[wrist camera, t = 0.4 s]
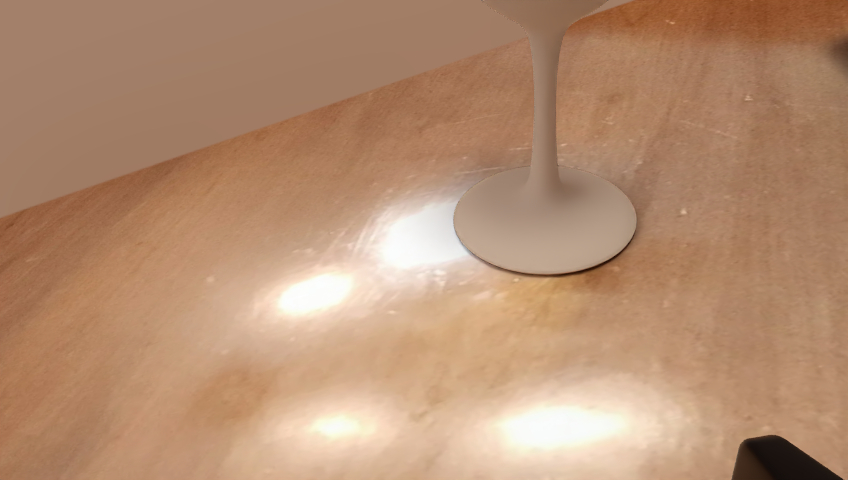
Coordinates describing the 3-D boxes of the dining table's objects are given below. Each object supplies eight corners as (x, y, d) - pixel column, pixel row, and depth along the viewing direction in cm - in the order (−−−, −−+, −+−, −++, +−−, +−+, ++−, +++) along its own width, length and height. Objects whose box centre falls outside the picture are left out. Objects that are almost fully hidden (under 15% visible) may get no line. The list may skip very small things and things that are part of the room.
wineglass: (669, 252, 36) (745, -311, 24) (484, 295, 35) (458, -277, 22) (591, 156, 43) (617, -321, 30) (434, 189, 42) (392, -295, 29)
